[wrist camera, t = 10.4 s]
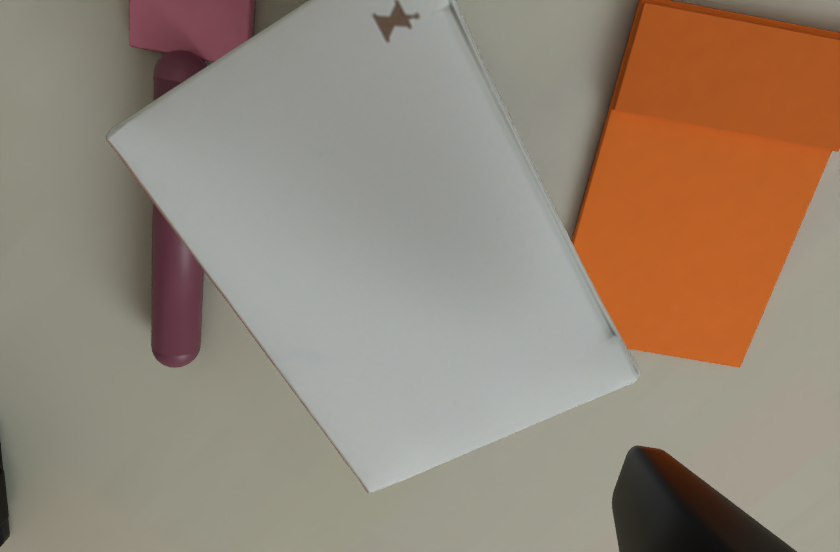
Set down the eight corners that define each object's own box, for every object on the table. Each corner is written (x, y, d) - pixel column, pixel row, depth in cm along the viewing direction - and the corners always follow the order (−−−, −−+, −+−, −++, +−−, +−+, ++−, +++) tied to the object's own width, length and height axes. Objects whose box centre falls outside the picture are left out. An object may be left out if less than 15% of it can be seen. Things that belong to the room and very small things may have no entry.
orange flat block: (546, 331, 22) (548, 339, 21) (640, -5, 18) (646, -6, 17) (736, 363, 22) (744, 372, 21) (872, 40, 18) (886, 40, 17)
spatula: (232, 360, 22) (217, 384, 21) (136, 345, 22) (115, 367, 21) (267, -184, 16) (250, -205, 15) (136, -210, 16) (105, -235, 15)
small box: (269, 77, 19) (82, 123, 9) (430, -22, 17) (417, -93, 8) (399, 288, 21) (364, 508, 11) (546, 214, 20) (649, 387, 10)
